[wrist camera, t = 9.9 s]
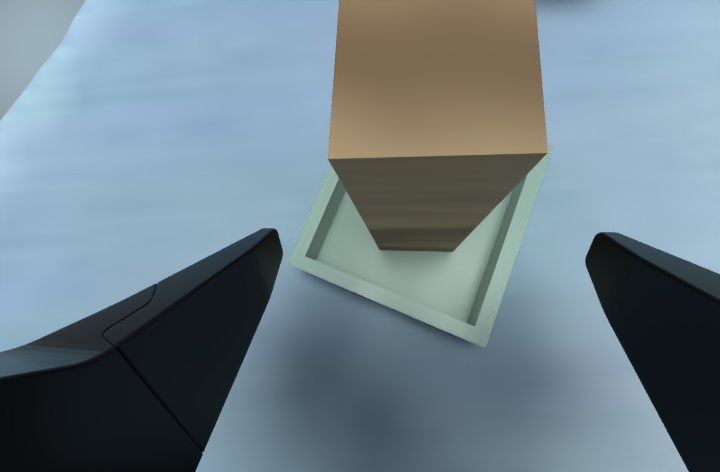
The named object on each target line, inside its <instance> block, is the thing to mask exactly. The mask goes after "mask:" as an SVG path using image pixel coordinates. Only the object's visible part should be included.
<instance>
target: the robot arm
mask: <svg viewBox="0 0 720 472" xmlns="http://www.w3.org/2000/svg"><path fill="white" fill-rule="evenodd" d="M282 256H283V250H282V246H281V242H280V239H279V235H278V232H277V230H276V229H273V228H263V229H261V230H259V231H257V232H255V233H253V234H251V235H249V236H247V237H245V238H243V239H241V240H239V241H237V242H235V243H233V244H231V245H230V246H228V247H226V248H224V249H222V250H220V251H218V252H216V253H214V254H212V255H210V256H208V257H206V258H204V259H202V260H200V261H199V262H197V263H195V264H193V265H191V266H189V267H187V268H185V269H183V270H181V271H179V272H177V273H175V274H173V275H171V276H169V277H168V278H166V279H164V280H162V281H160V282H158V284H154V285H152V286H150V287H148V288H146V289H144V290H142V291H140V292H138V293H136V294H134V295H132V296H130V297H128V298H126V299H124V300H122V301H120V302H118V303H116V304H114V305H112V306H109V307H107V308H105V309H103V310H101V311H99V312H97V313H95V314H92V315H90V316H88V317H86V318H84V319H81V320H79V321H77V322H75V323H73V324H70V325H68V326H66V327H64V328H62V329H60V330H57V331H55V332H53V333H51V334H49V335H46V336H44V337H42V338H40V339H38V340H35V341H33V342H31V343H28V344H26V345H23V346H20V347H17V348H14V349H11V350H7V351H3V352H0V472H195V471H196V469H197V466H198V464H199V462H200V460H201V457H202V455H203V453H202V452H204V450H205V447H206V445H207V443H208V440H209V438H210V436H211V433H212V431H213V429H214V427H215V424H216V422H217V420H218V417H219V415H220V413H221V410H222V408H223V406H224V403H225V401H226V399H227V397H228V394H229V392H230V390H231V387H232V385H233V383H234V380H235V378H236V376H237V373H238V371H239V369H240V366H241V364H242V362H243V360H244V357H245V355H246V353H247V350H248V348H249V346H250V343H251V341H252V339H253V336H254V334H255V332H256V330H257V327H258V325H259V323H260V320H261V318H262V316H263V313H264V311H265V309H266V306H267V304H268V302H269V299H270V296H271V293H272V290H273V287H274V284H275V280H276V277H277V274H278V270H279V267H280V264H281V260H282ZM585 263H586V267H587V270H588V272H589V275H590V278H591V280H592V283H593V285H594V288H595V290H596V293H597V296H598V298H599V301H600V303H601V306H602V308H603V311H604V313H605V315H606V317H607V319H608V321H609V323H610V325H611V327H612V329H613V331H614V332H615V334H616V336H617V338H618V340H619V342H620V344H621V346H622V347H623V349H624V351H625V353H626V355H627V357H628V359H629V361H630V362H631V364H632V366H633V368H634V370H635V372H636V374H637V375H638V377H639V379H640V381H641V383H642V385H643V387H644V389H645V390H646V392H647V394H648V396H649V398H650V400H651V402H652V404H653V405H654V407H655V409H656V411H657V413H658V415H659V417H660V419H661V420H662V422H663V424H664V426H665V428H666V430H667V432H668V434H669V435H670V437H671V439H672V441H673V443H674V445H675V447H676V449H677V450H678V452H679V454H680V456H681V458H682V460H683V462H684V464H685V465H686V467H687V469H688V471H689V472H720V274H718V273H715V272H713V271H710V270H708V269H706V268H703V267H701V266H698V265H696V264H693V263H691V262H688V261H686V260H683V259H681V258H678V257H676V256H674V255H671V254H669V253H666V252H664V251H661V250H659V249H656V248H654V247H651V246H649V245H646V244H644V243H642V242H639V241H637V240H634V239H632V238H629V237H627V236H624V235H622V234H619V233H615V232H600V233H598V234H596V236H595V237H594V239H593V242H592V244H591V246H590V249H589V251H588V253H587V256H586V260H585Z"/></svg>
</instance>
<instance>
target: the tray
mask: <svg viewBox="0 0 720 472" xmlns="http://www.w3.org/2000/svg"><path fill="white" fill-rule="evenodd" d="M547 149H548V153H547V154H546V155H545V156H544V157H543V158H542V160H541V161H540V162H539V163H538V164H537V165H536V166H535V167H534V168H533V169H532V170H531V171H530V172H529V173H528V174H527V175H526V176H525V177H524V178H523V179H522V180H521V181H520V182H519V183H518V185H517V186H516V187H515V188H514V189H513V190H512V191H511V192H510V193H509V194H508V195H507V196H506V197H505V198H504V199H503V200H502V201H501V202H500V203H499V204H498V205H497V206H496V207H495V208H494V210H493V211H492V212H491V213H490V214H489V215H488V216H487V217H486V218H485V219H484V220H483V221H482V222H481V223H480V224H479V225H478V226H477V227H476V228H475V229H474V230H473V231H472V232H471V233H470V235H469V236H468V237H467V238H466V239H465V240H464V241H463V242H462V243H461V244H460V245H459V246H458V247H457V248H456V249H455V250H454V251H453V252H437V251H391V250H379V248H378V246H377V244H376V243H375V241H374V239H373V237H372V236H371V234H370V232H369V230H368V229H367V227H366V225H365V223H364V221H363V220H362V218H361V216H360V214H359V213H358V211H357V209H356V207H355V206H354V204H353V202H352V200H351V199H350V197H349V195H348V193H347V192H346V190H345V188H344V186H343V185H342V183H341V181H340V179H339V178H338V176H337V174H336V172H335V170H334V169H333V167H332V165H331V167H330V169H329V171H328V173H327V176H326V178H325V180H324V183H323V185H322V187H321V189H320V192H319V194H318V196H317V198H316V201H315V203H314V205H313V207H312V210H311V212H310V214H309V216H308V219H307V221H306V223H305V225H304V228H303V230H302V232H301V234H300V237H299V239H298V241H297V244H296V246H295V248H294V250H293V253H292V255H291V257H290V259H289V262H288V264H289V265H291V266H294V267H296V268H298V269H301V270H303V271H305V272H308V273H310V274H312V275H315V276H317V277H319V278H322V279H324V280H326V281H329V282H331V283H333V284H336V285H338V286H340V287H343V288H345V289H348V290H350V291H352V292H355V293H357V294H359V295H362V296H364V297H366V298H369V299H371V300H373V301H376V302H378V303H380V304H383V305H385V306H387V307H390V308H392V309H394V310H397V311H399V312H401V313H404V314H406V315H409V316H411V317H413V318H416V319H418V320H420V321H423V322H425V323H427V324H430V325H432V326H434V327H437V328H439V329H441V330H444V331H446V332H448V333H451V334H453V335H455V336H458V337H460V338H462V339H465V340H467V341H470V342H472V343H474V344H477V345H479V346H481V347H484V348H486V345H487V342H488V339H489V337H490V334H491V331H492V328H493V325H494V322H495V319H496V316H497V313H498V310H499V307H500V304H501V301H502V298H503V295H504V292H505V289H506V286H507V283H508V280H509V277H510V274H511V271H512V268H513V265H514V262H515V259H516V256H517V253H518V250H519V247H520V244H521V241H522V238H523V235H524V233H525V230H526V227H527V224H528V221H529V218H530V215H531V212H532V209H533V206H534V203H535V200H536V197H537V194H538V191H539V188H540V185H541V182H542V179H543V176H544V173H545V170H546V167H547V164H548V161H549V158H550V155H551V152H552V149H553V146H550V145H547Z"/></svg>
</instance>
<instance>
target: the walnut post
mask: <svg viewBox="0 0 720 472" xmlns="http://www.w3.org/2000/svg"><path fill="white" fill-rule="evenodd" d="M547 153H548V149H547V137H546V125H545V113H544V101H543V89H542V77H541V65H540V53H539V41H538V29H537V17H536V5H535V0H339V11H338V25H337V39H336V53H335V67H334V81H333V95H332V109H331V123H330V137H329V151H328V160H329V162H330V163H331V165H332V167H333V169H334V170H335V172H336V174H337V176H338V178H339V179H340V181H341V183H342V185H343V186H344V188H345V190H346V192H347V193H348V195H349V197H350V199H351V200H352V202H353V204H354V206H355V207H356V209H357V211H358V213H359V214H360V216H361V218H362V220H363V221H364V223H365V225H366V227H367V229H368V230H369V232H370V234H371V236H372V237H373V239H374V241H375V243H376V244H377V246H378V248H379V250H391V251H437V252H453V251H454V250H455V249H456V248H457V247H458V246H459V245H460V244H461V243H462V242H463V241H464V240H465V239H466V238H467V237H468V236H469V235H470V233H471V232H472V231H473V230H474V229H475V228H476V227H477V226H478V225H479V224H480V223H481V222H482V221H483V220H484V219H485V218H486V217H487V216H488V215H489V214H490V213H491V212H492V211H493V210H494V208H495V207H496V206H497V205H498V204H499V203H500V202H501V201H502V200H503V199H504V198H505V197H506V196H507V195H508V194H509V193H510V192H511V191H512V190H513V189H514V188H515V187H516V186H517V185H518V183H519V182H520V181H521V180H522V179H523V178H524V177H525V176H526V175H527V174H528V173H529V172H530V171H531V170H532V169H533V168H534V167H535V166H536V165H537V164H538V163H539V162H540V161H541V160H542V158H543V157H544V156H545V155H546V154H547Z"/></svg>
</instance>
